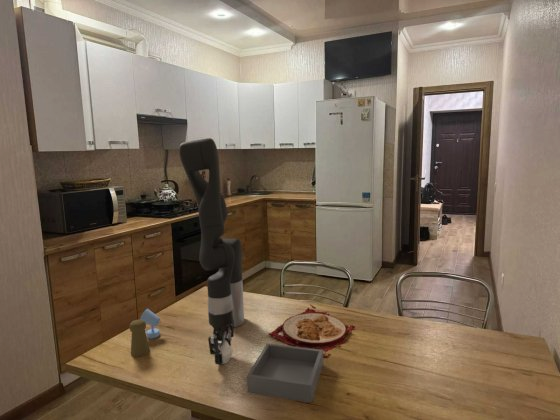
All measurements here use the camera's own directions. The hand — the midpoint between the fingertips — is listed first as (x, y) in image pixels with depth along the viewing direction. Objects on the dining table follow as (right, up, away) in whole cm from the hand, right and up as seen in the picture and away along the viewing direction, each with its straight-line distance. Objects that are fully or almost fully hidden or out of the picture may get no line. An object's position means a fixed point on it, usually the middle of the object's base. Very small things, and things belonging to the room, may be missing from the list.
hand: (223, 358), depth 121 cm
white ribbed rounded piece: (0, -1, 0) cm, 1 cm away
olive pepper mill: (-29, -1, +8) cm, 30 cm away
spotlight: (-29, +1, +19) cm, 35 cm away
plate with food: (+31, +2, +18) cm, 36 cm away
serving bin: (+20, -2, -10) cm, 22 cm away
